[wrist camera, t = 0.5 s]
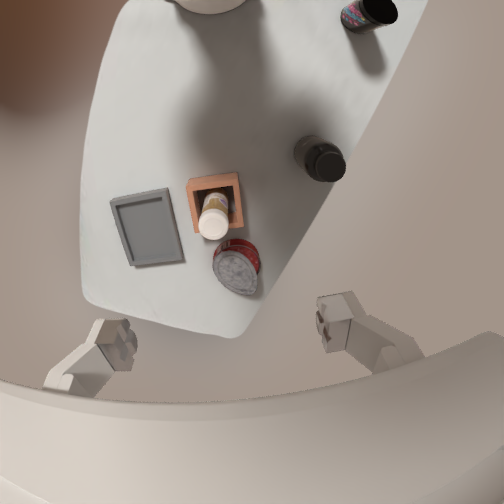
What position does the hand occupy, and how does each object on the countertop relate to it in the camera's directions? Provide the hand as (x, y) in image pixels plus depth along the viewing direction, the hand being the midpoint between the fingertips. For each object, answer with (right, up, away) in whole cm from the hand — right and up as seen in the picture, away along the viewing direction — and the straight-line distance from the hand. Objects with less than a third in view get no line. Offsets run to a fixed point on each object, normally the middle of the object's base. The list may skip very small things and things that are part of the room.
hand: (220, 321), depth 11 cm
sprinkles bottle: (-6, +13, +41) cm, 44 cm away
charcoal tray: (-20, +8, +43) cm, 48 cm away
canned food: (-2, +1, +49) cm, 49 cm away
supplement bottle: (+12, +22, +38) cm, 45 cm away
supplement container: (+21, +47, +24) cm, 57 cm away
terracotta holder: (-5, +13, +41) cm, 43 cm away
